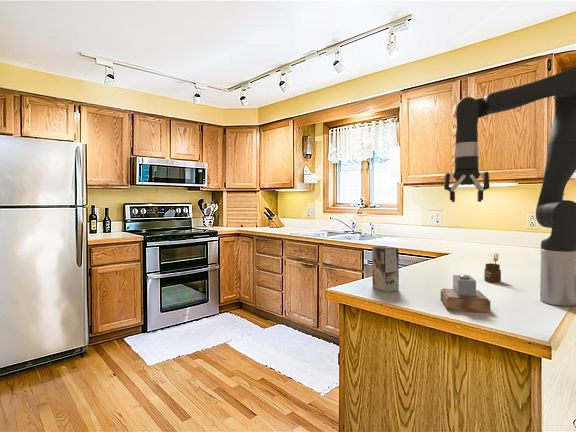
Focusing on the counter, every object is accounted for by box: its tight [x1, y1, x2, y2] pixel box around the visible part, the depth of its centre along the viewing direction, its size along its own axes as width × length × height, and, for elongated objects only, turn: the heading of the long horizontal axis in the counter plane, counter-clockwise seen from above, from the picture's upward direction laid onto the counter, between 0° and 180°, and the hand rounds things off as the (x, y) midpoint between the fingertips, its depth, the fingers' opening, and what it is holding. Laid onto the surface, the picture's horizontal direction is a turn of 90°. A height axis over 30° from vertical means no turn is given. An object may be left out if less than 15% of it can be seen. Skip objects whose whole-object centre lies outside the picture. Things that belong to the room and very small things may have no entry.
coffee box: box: [371, 245, 400, 293], centre depth 136 cm, size 9×6×16 cm
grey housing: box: [452, 274, 477, 297], centre depth 113 cm, size 8×5×6 cm, turn 166°
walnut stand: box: [440, 288, 491, 314], centre depth 113 cm, size 12×12×4 cm
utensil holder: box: [483, 253, 502, 284], centre depth 146 cm, size 6×6×12 cm
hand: (466, 201), depth 126 cm, fingers open, 8 cm apart
